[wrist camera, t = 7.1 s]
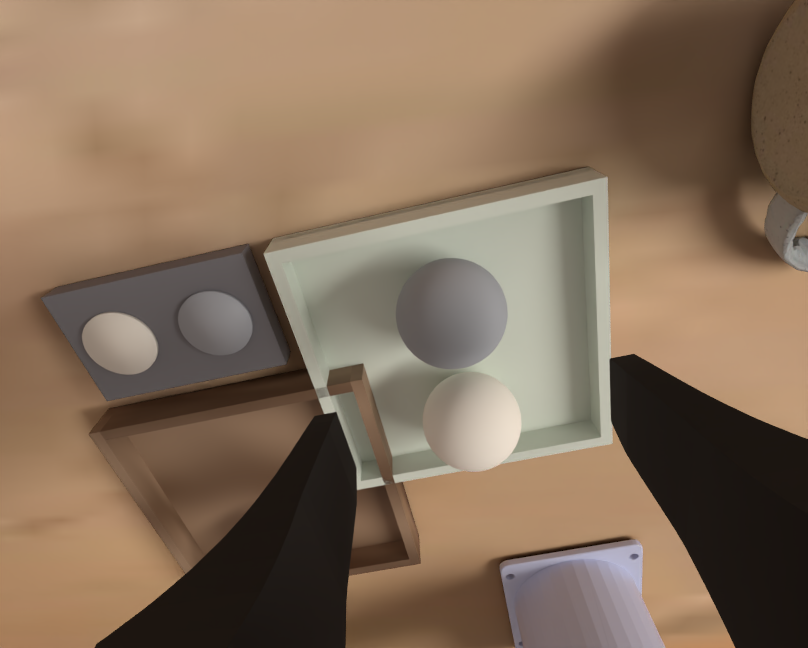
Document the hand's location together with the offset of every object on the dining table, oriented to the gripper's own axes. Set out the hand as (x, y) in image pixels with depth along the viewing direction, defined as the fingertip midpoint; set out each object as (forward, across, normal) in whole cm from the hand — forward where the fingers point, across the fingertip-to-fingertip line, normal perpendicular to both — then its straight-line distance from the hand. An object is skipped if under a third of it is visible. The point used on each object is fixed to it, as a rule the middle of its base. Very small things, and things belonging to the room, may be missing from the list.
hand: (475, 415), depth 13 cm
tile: (+8, +11, -1) cm, 14 cm away
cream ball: (+8, 0, +5) cm, 9 cm away
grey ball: (+8, 0, 0) cm, 8 cm away
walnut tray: (+8, +10, +8) cm, 15 cm away
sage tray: (+8, 0, +2) cm, 8 cm away
